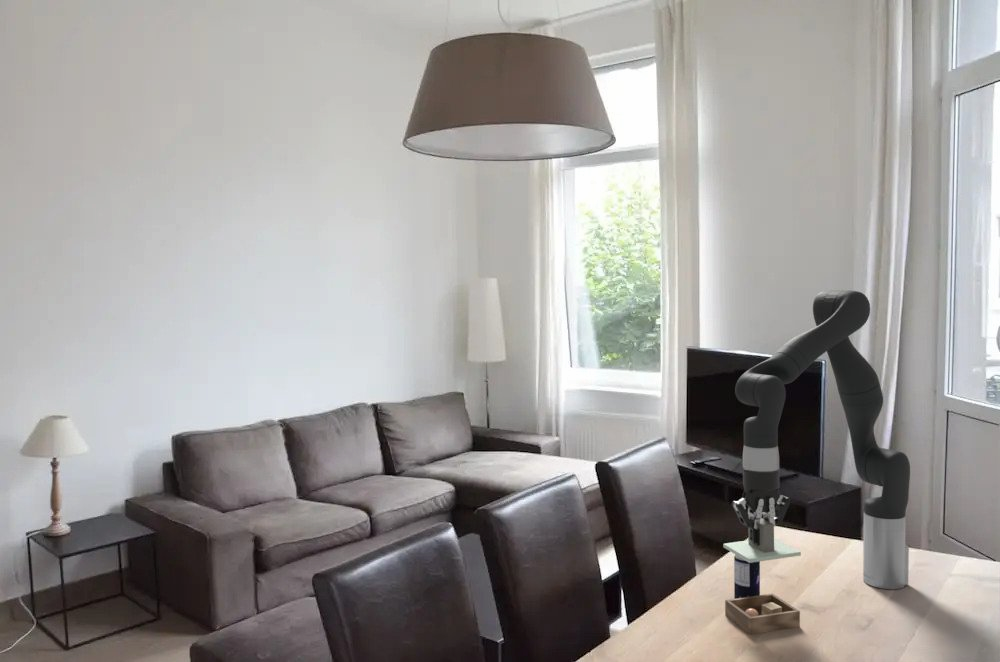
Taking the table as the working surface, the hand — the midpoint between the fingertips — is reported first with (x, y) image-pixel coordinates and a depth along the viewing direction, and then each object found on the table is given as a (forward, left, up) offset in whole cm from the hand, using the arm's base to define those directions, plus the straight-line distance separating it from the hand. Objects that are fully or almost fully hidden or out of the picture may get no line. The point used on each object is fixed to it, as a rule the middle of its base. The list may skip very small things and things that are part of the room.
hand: (761, 543), depth 171 cm
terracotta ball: (+3, 0, -16) cm, 16 cm away
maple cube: (-2, 0, -17) cm, 17 cm away
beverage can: (-3, -11, -18) cm, 21 cm away
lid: (0, 0, -2) cm, 2 cm away
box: (0, 0, -18) cm, 18 cm away
